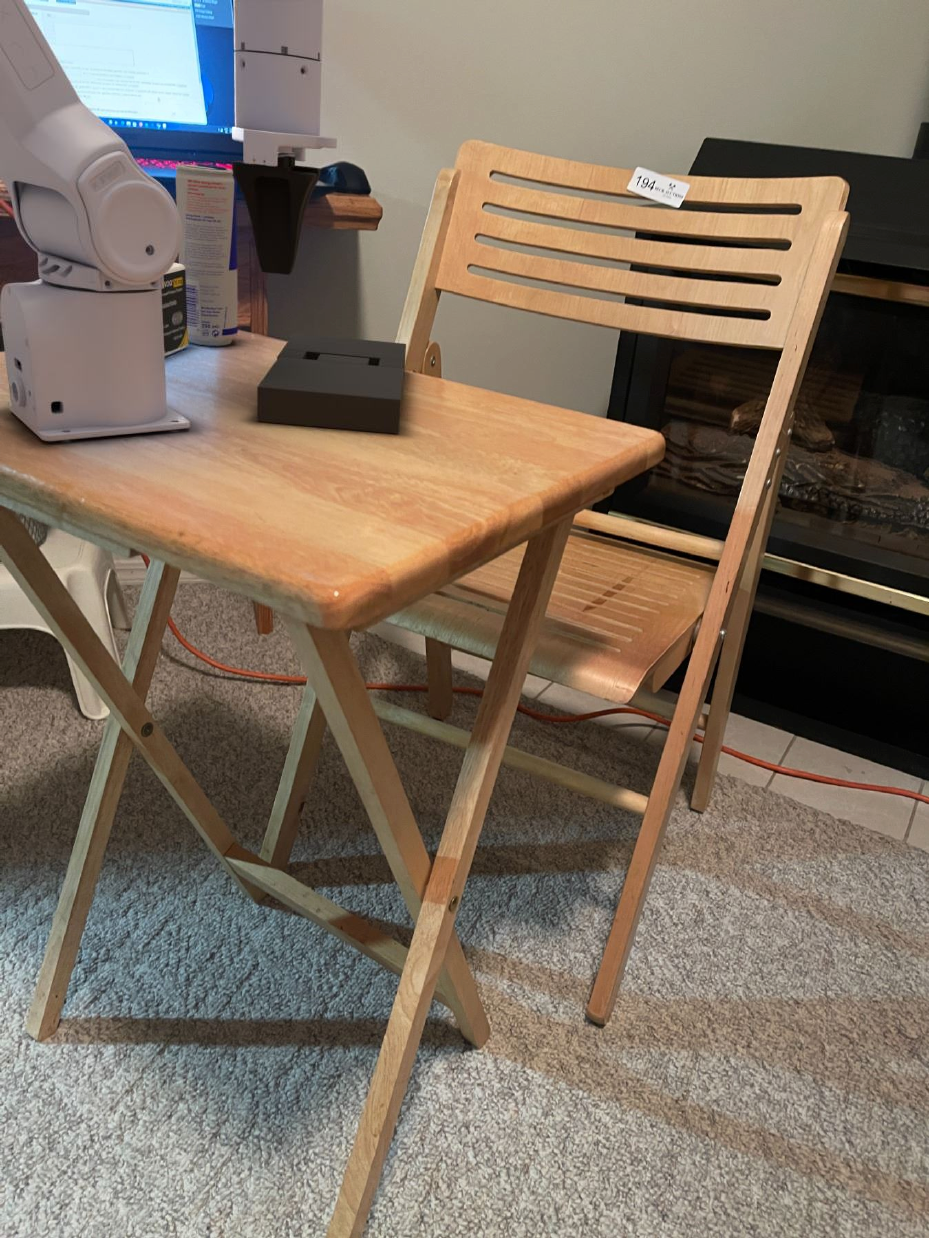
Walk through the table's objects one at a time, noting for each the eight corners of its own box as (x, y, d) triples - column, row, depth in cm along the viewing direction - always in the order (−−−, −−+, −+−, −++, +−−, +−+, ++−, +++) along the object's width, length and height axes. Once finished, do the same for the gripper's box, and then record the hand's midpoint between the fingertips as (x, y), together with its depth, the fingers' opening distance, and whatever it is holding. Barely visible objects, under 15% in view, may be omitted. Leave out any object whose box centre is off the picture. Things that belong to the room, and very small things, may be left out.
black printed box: (153, 363, 78) (145, 207, 73) (73, 352, 79) (59, 197, 74) (189, 347, 85) (184, 203, 79) (115, 337, 85) (104, 194, 80)
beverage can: (245, 339, 90) (243, 167, 83) (227, 349, 86) (224, 168, 79) (193, 333, 90) (187, 161, 83) (173, 343, 86) (165, 162, 79)
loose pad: (398, 434, 67) (400, 399, 66) (257, 421, 66) (257, 386, 65) (403, 392, 78) (405, 361, 77) (283, 380, 77) (283, 350, 76)
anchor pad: (401, 399, 76) (403, 368, 75) (276, 388, 75) (276, 356, 74) (404, 371, 85) (406, 343, 84) (293, 361, 84) (293, 333, 83)
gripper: (326, 56, 56) (320, 292, 62) (348, 71, 69) (341, 265, 75) (207, 42, 56) (212, 281, 62) (251, 60, 69) (252, 257, 75)
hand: (276, 272), depth 69 cm, fingers closed
